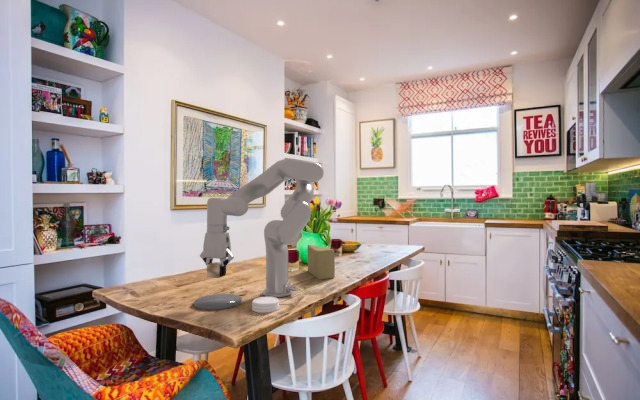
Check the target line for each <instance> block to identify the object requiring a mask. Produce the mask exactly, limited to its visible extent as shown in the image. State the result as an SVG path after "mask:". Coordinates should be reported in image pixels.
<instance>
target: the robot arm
mask: <svg viewBox="0 0 640 400" xmlns="http://www.w3.org/2000/svg"><path fill="white" fill-rule="evenodd" d="M323 177H324V169H323V167H322V165H321V164H319V163H318V162H315V161H309V160H303V159H296V158H284V159H280V160H277V161H276V162H274V164H272V165H271V166H269V167H268V168H267V169H266V170H264V171H263V172H262V173H260V174H259V175H257V176H256V177H255V178H253V179H251V180H250V181H249V182H247V183H246V184H244V185H243V186H241V187H240V188H238V189H237V190H236V191H234V192H232V193H231V195H229V196H228V197H227V198H225V197H210V198H207V202H206V206H207V207H206V232H205V233H204V239H203V245H202V247H203V250H202V252H201V253H200V254H199V257H200V258H201V259H202V261H203V262H204V263H205V266H207V264H210V263H213V262H214V259H219V262H220V263H221V266H220V278H222V276H223V277H224V276H226V273H227V266H228V264H229V263H230V262H231V261H232V260H233V259H234V258H235V257H234V255H233V253H232V245H231V237H230V233H229V232H228V231H229V230H230V226H228V216H232V217H242V216H244V215H246V213H247V212H248V210H249V203H252V202H253V201H255V200H257V199H260V198H263V197H265V196H267V195H269V194H271V193H272V192H273V191H274V190H275V189H276V188H278V187H279V186H280V185H281V184H282V183H284V182H286V181H287V180H290V179H293V180H295V182H296V184H295V188H294V190H293V192H292V193H291V195H290V197H289V198H288V199H287V200H286V202H285V203H284V204H283V206H282V207H281V209H280V216H281V218H282V220H279V219H272V220H270V221H268V223H266V225H265V226H264V230H263V237H264V242H265V269H266V270H265V282H266V283H265V284H266V285H265V286H266V287H265V289H263V290H262V295H263V297H275V298H283V297H288V296H290V295H292V294H293V292H298V286H297V285H292V284H291V281H289V249H288V245H289V244H292V243H293V242H294V241H296V239H297V238H298V236H299V235H300V234H301V232H302V231H303V229H304V228H305V227H306V225H307V224H308V222H309V221H310V219H311V216H312V208H311V206H310V205H309V204H310V203H311V201H312V199H313V197H314V183H316V182H319V181H321V180H322V179H323Z"/></svg>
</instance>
